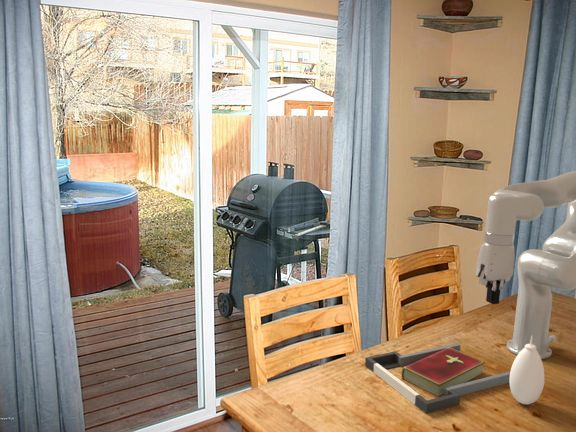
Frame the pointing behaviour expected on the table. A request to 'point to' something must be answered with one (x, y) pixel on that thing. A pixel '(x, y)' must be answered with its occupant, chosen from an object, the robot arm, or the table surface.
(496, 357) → the table surface
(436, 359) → the hardcover book
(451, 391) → the grey u-shaped frame
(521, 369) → the rubber air blower
